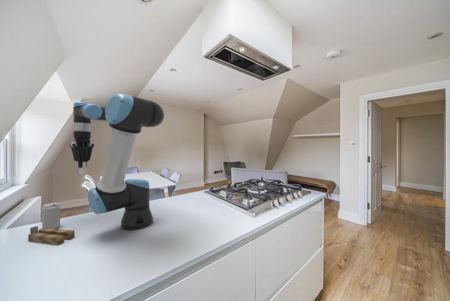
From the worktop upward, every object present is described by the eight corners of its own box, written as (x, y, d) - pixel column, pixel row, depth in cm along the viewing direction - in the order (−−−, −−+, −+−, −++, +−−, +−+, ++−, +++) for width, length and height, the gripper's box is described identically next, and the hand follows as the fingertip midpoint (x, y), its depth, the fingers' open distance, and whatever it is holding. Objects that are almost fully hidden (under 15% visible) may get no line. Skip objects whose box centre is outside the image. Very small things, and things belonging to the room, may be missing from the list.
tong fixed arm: (69, 240, 78) (69, 230, 78) (58, 245, 74) (58, 234, 73) (35, 235, 81) (35, 226, 81) (23, 240, 77) (23, 230, 77)
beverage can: (49, 232, 85) (48, 206, 85) (38, 230, 86) (38, 205, 86) (63, 226, 91) (63, 202, 91) (53, 225, 93) (53, 201, 92)
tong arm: (74, 236, 80) (74, 230, 80) (69, 239, 78) (69, 232, 78) (44, 234, 82) (44, 228, 82) (38, 236, 80) (38, 230, 80)
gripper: (87, 132, 107) (87, 171, 107) (64, 130, 94) (64, 175, 95) (98, 132, 106) (98, 172, 106) (76, 130, 93) (76, 175, 93)
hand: (82, 173), depth 100 cm, fingers closed
